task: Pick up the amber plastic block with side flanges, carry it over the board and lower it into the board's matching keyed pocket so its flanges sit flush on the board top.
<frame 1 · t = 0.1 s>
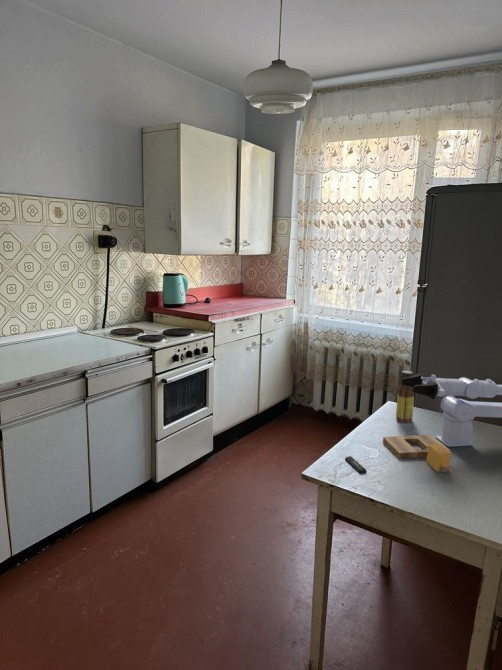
hand: (407, 385, 155), 22 cm above the table, tool horizontal, fingers open, 7 cm apart
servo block: (437, 466, 145), on the table
sauce bottle: (403, 420, 181), on the table
usb stick: (355, 467, 144), on the table
pocket board: (415, 448, 156), on the table
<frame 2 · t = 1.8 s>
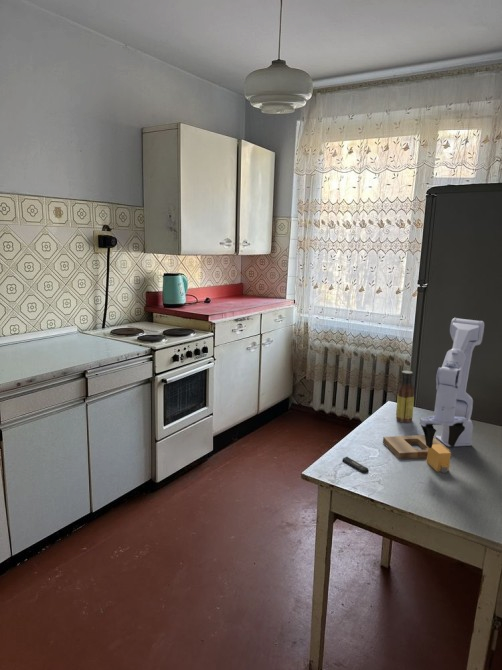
hand: (439, 446, 143), 7 cm above the table, tool pointing down, fingers open, 7 cm apart
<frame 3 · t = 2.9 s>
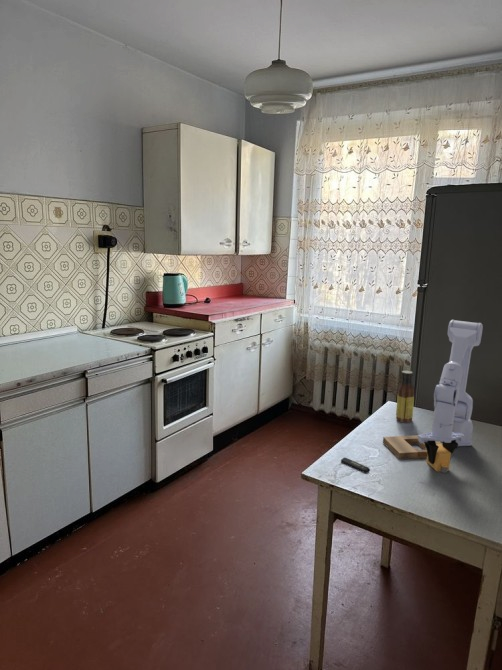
hand: (437, 462, 145), 1 cm above the table, tool pointing down, fingers closed on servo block, 4 cm apart
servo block: (437, 466, 145), on the table, touching gripper
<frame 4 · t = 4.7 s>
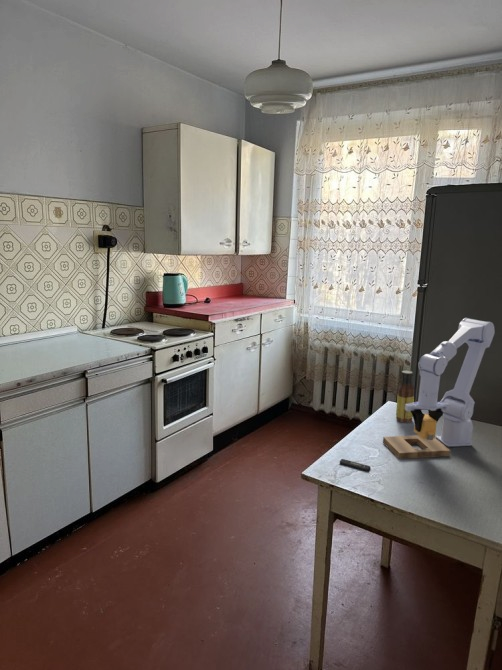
hand: (424, 430, 151), 8 cm above the table, tool pointing down, fingers closed on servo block, 4 cm apart
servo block: (424, 434, 151), point 7 cm above the table, touching gripper
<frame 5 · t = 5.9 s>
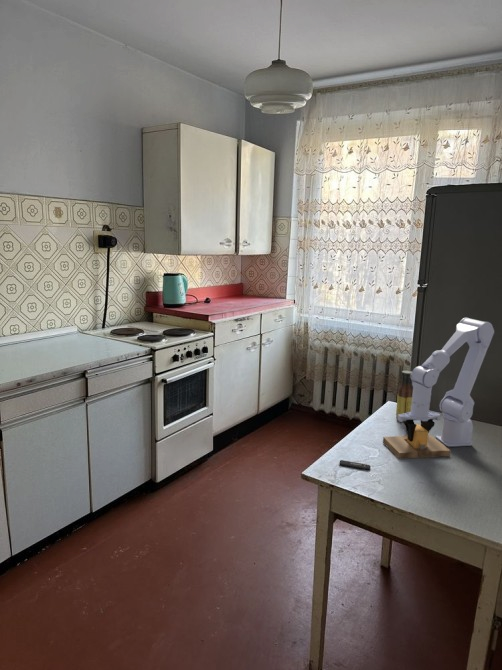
hand: (416, 440, 156), 3 cm above the table, tool pointing down, fingers closed on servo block, 4 cm apart
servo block: (416, 444, 156), point 2 cm above the table, touching gripper
when the fingers open (3 cm above the table, at t = 6.8 s): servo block drops 1 cm, resting in pocket board.
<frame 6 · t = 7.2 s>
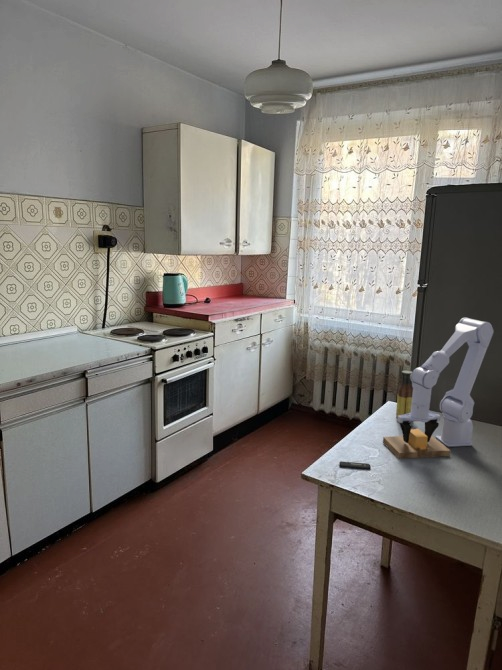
hand: (416, 441, 156), 3 cm above the table, tool pointing down, fingers open, 7 cm apart
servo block: (415, 449, 156), resting in pocket board
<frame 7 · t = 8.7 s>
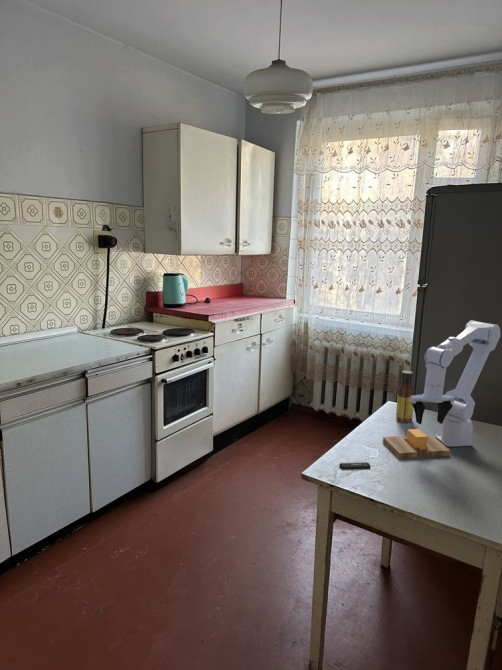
hand: (429, 422, 152), 10 cm above the table, tool pointing down, fingers open, 7 cm apart
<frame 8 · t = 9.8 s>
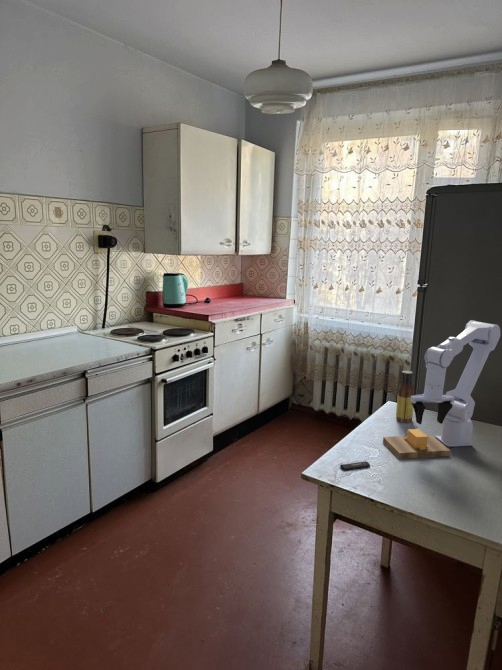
hand: (429, 422, 152), 10 cm above the table, tool pointing down, fingers open, 7 cm apart
at the end: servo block 0.3 cm off-centre on the pocket board, point 0.0 cm above the pocket board's base; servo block tilted 0°; the gripper is holding nothing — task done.
